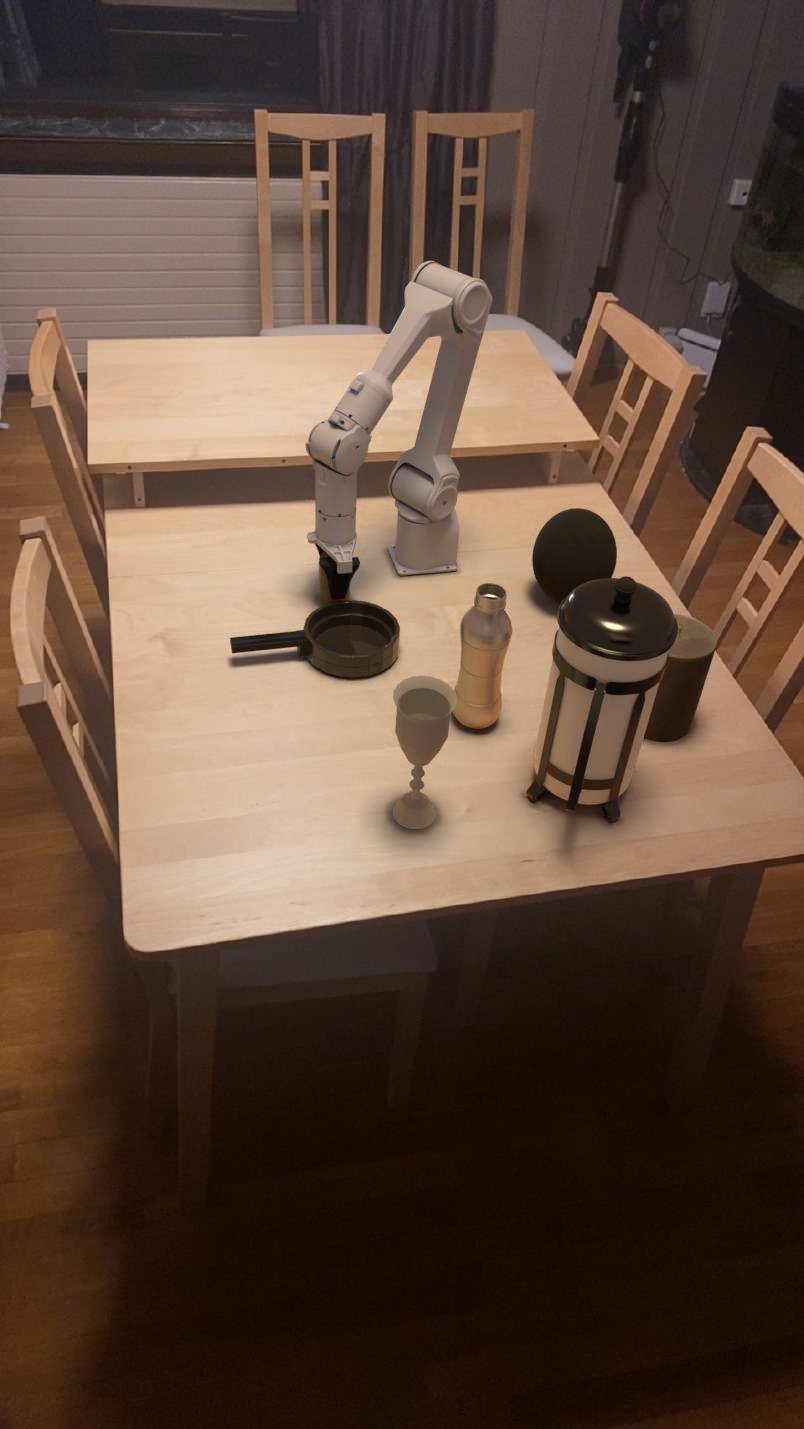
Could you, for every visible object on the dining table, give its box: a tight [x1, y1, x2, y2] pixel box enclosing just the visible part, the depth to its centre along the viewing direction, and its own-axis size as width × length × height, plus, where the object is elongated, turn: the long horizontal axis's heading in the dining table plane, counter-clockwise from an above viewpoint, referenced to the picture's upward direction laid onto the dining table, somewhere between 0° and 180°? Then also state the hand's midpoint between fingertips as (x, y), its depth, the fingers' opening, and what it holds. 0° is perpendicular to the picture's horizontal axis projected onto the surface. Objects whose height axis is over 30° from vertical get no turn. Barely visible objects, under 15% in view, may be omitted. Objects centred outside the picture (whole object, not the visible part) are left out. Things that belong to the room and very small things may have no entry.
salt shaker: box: [318, 551, 351, 606], centre depth 147 cm, size 5×5×8 cm
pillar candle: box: [644, 613, 718, 742], centre depth 129 cm, size 10×10×15 cm
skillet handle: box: [229, 629, 307, 658], centre depth 137 cm, size 10×3×3 cm, turn 104°
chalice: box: [392, 675, 457, 830], centre depth 112 cm, size 7×7×18 cm
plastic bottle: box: [452, 582, 513, 730], centre depth 125 cm, size 6×7×20 cm
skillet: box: [303, 599, 401, 678], centre depth 140 cm, size 13×13×4 cm
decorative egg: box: [531, 507, 618, 605], centre depth 148 cm, size 12×12×15 cm
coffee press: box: [525, 575, 678, 822], centre depth 113 cm, size 17×16×30 cm
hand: (334, 588), depth 148 cm, fingers closed on salt shaker, 4 cm apart
